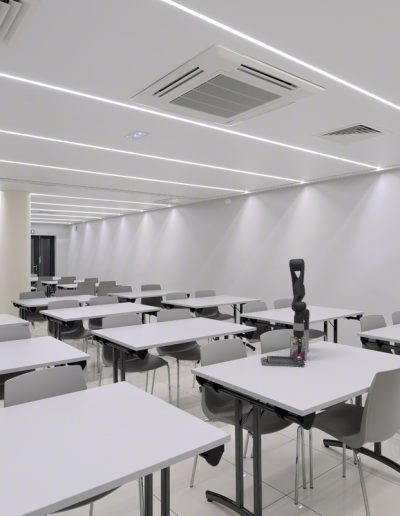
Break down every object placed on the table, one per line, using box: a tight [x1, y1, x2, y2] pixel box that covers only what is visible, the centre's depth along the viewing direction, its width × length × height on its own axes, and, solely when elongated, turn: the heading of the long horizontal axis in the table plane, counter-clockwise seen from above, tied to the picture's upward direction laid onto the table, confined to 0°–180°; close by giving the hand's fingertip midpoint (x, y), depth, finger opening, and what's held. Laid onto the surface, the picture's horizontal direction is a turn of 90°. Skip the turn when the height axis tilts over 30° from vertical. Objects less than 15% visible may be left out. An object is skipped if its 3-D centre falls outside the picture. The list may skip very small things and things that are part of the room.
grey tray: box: [260, 355, 305, 368], centre depth 270 cm, size 16×28×5 cm, turn 85°
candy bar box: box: [289, 335, 308, 362], centre depth 282 cm, size 11×5×16 cm, turn 58°
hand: (298, 351), depth 282 cm, fingers open, 8 cm apart
